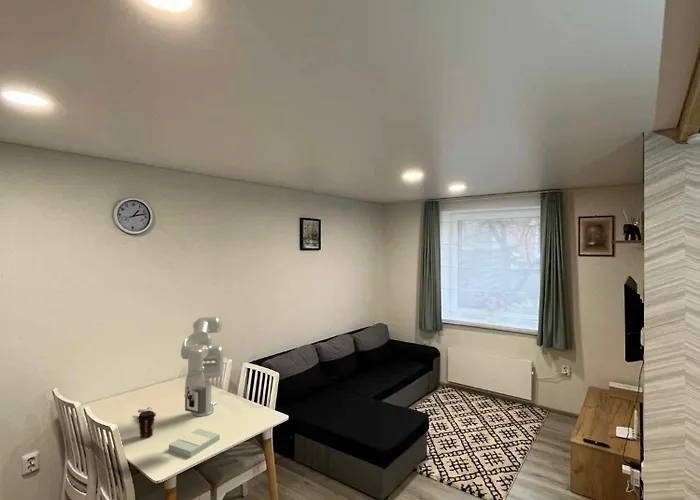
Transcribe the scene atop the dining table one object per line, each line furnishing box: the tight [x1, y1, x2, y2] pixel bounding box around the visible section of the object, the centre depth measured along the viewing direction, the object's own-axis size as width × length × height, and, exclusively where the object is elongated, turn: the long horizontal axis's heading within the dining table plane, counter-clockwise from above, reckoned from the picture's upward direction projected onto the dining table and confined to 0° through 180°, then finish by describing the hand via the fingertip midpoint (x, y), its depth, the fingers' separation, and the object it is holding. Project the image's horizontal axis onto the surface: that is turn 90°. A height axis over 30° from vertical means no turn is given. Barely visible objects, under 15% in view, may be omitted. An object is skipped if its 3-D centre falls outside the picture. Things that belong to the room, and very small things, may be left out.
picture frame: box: [184, 387, 206, 414], centre depth 207 cm, size 4×11×13 cm, turn 65°
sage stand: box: [168, 428, 220, 458], centre depth 207 cm, size 20×16×3 cm
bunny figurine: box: [137, 406, 157, 418], centre depth 238 cm, size 10×5×15 cm
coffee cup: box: [137, 410, 156, 440], centre depth 216 cm, size 9×8×13 cm
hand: (195, 404), depth 207 cm, fingers closed on picture frame, 4 cm apart
